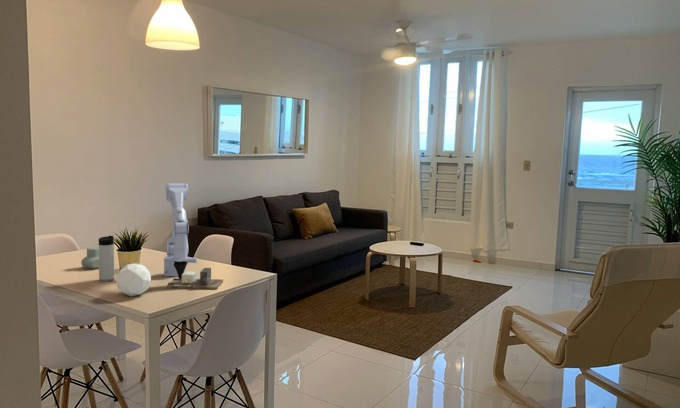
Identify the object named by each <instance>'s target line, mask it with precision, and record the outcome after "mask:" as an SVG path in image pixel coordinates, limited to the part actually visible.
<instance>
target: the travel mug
mask: <svg viewBox="0 0 680 408" xmlns="http://www.w3.org/2000/svg"><path fill="white" fill-rule="evenodd" d="M114 241H115V239H114V235H107V236H106V235H105V236H102V237H99V238H98V247H99V268H98V281H99V282H101V283H106V282H107V283H108V282H112V281H114V280H115V243H114Z"/></svg>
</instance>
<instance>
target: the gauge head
mask: <svg viewBox="0 0 680 408" xmlns="http://www.w3.org/2000/svg"><path fill="white" fill-rule="evenodd" d="M197 276H198V275H197V271H188V270H187V271H186V270H185V272H184V273H183V274H182V283H194V282H195V281H196V280H197V279H198V278H197Z"/></svg>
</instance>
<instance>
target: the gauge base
mask: <svg viewBox="0 0 680 408" xmlns="http://www.w3.org/2000/svg"><path fill="white" fill-rule="evenodd" d="M223 282H224V279H219V278H218V279H217V278H214V279H213V278H212V268H211V267H203V268H202V269H201V270H200V272H199V278H197V280H196V281H195V282H194V283H182V279H179V277H177V278H176V277H175V278H172V281H170V282H168V283H167V285H166V286H165V287H166V288H165V289H181V290H182V289H184V290H185V289H186V290H215V289H217V290H218V289H219V288H220V287H221V285H222V284H223ZM218 287H219V288H218Z"/></svg>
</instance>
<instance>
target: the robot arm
mask: <svg viewBox="0 0 680 408" xmlns="http://www.w3.org/2000/svg"><path fill="white" fill-rule="evenodd" d="M165 193H166V194H165V196H166V201H167V202H169V203H170V205H171V218H172V219H171V221H172V223H171V224H172V226H171V227H172V236H171V237H169V238H168V239H167V241H166V256H165V257H163V276H164V277H177V278H179V279H182V274H183V273H184V272H185V271H186V268H187V266H188V263H190V264H191V263H194V264H197V263H198V259H199V258H198V257H190V256H188V255H189V241H188V240H189V239H188V235H189V233H190V232H189V231H190V228H189V221H188V219H187V211H186V209H184V202H186V201H187V199H188V195H189V184H188V183H179V182H178V183H177V182H176V183H173V182H172V183H171V182H169V183H168V182H167V183H166V184H165Z"/></svg>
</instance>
